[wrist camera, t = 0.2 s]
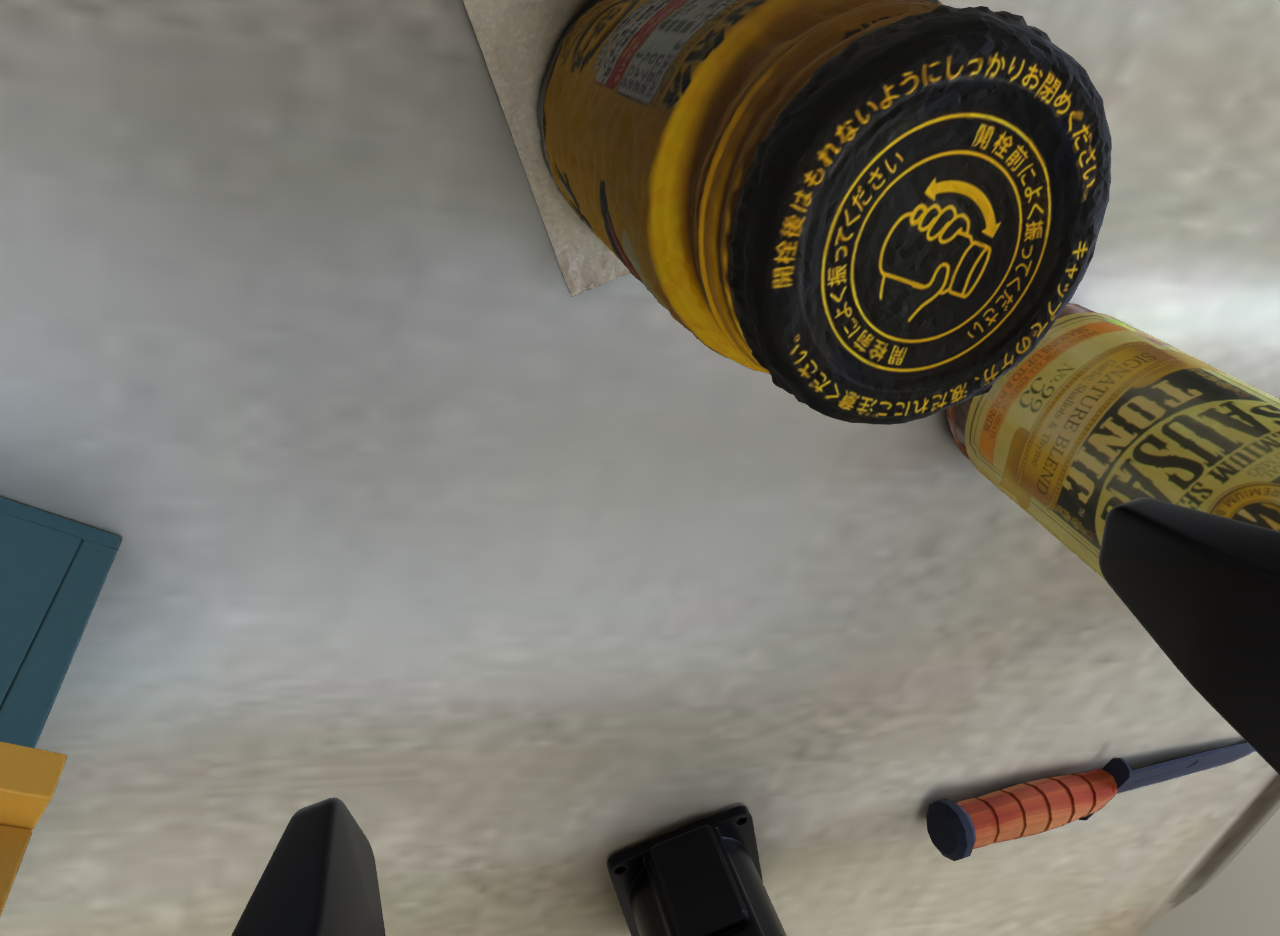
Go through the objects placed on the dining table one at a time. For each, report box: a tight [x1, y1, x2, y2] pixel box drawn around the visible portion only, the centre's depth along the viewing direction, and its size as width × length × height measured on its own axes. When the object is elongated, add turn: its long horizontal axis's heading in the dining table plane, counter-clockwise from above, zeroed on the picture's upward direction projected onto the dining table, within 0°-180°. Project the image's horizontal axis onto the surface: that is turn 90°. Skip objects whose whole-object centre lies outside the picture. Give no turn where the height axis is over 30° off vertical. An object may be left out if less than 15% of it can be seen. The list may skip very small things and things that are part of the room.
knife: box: [926, 743, 1256, 861], centre depth 43 cm, size 26×3×5 cm
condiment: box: [463, 0, 1112, 424], centre depth 15 cm, size 7×8×12 cm
